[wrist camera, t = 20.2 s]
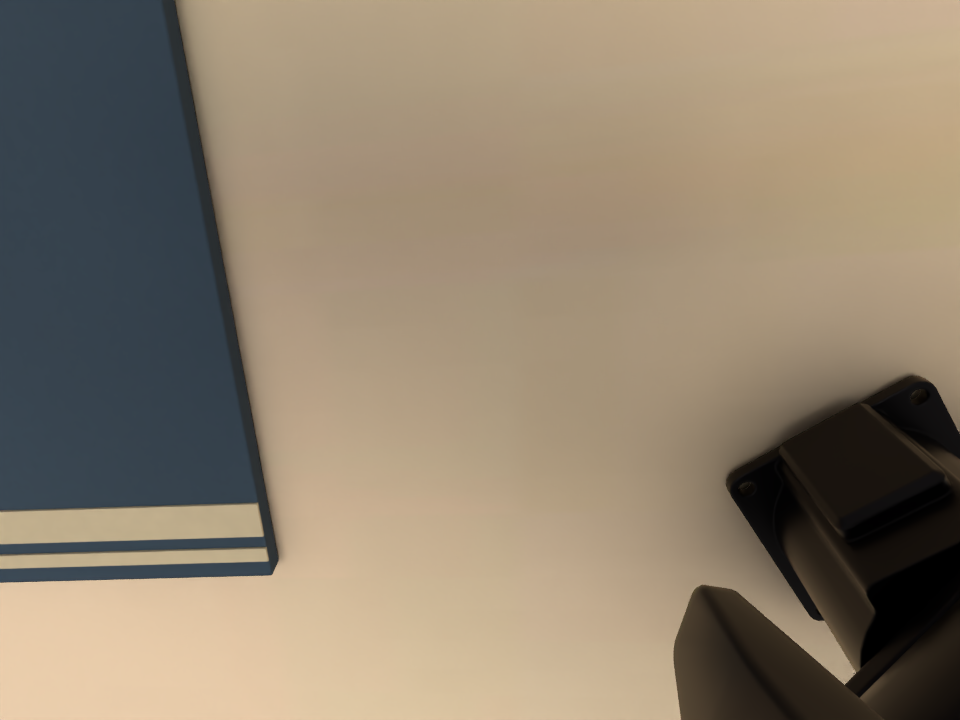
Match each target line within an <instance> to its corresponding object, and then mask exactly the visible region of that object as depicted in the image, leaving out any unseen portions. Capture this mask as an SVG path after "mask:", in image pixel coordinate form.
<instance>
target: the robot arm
mask: <svg viewBox="0 0 960 720" xmlns="http://www.w3.org/2000/svg"><path fill="white" fill-rule="evenodd" d="M919 389H921V392H920V394H919V396H917V397H916V398H914V399H910V397H911V395H912V393H913V392H915V391H916V390H919ZM745 482H750V485H749V486H748V487H747V488H746V489H738V488H739V486H740V485H741V484H742V483H745ZM726 486H727V489H728V491H729V493H730V495H731V497H732V498H733V500H734V501H735V503H736V504H737V506H738V507H739V509H740V510H741V512H742V513H743V515H744V516H745V518H746V519H747V521H748V522H749V524H750V526H751V527H752V529H753V530H754V532H755V533H756V535H757V536H758V538H759V539H760V541H761V542H762V544H763V545H764V547H765V548H766V550H767V551H768V553H769V554H770V556H771V558H772V559H773V561H774V562H775V564H776V565H777V567H778V568H779V570H780V571H781V573H782V574H783V576H784V577H785V579H786V580H787V582H788V583H789V585H790V586H791V588H792V589H793V591H794V593H795V594H796V596H797V597H798V599H799V600H800V602H801V603H802V605H803V606H804V608H805V609H806V611H807V612H808V614H809V615H810V616H811V617H812V618H813V619H815V620H818V621H825V622H826V623H827V625H828V627H829V628H830V630H831V632H832V633H833V635H834V637H835V638H836V640H837V642H838V643H839V645H840V647H841V648H842V650H843V652H844V653H845V655H846V657H847V658H848V660H849V661H850V663H851V665H852V666H853V668H854V670H855V671H856V674H855V675H854V676H853V677H852V678H851V679H850V680H849V681H848V682H847V683H846V684H845V685H844V684H843V683H842V682H840V681H839V680H838V679H837V678H836V677H835V676H833V675H832V674H831V673H830V672H829V671H828V670H827V669H825V668H824V667H823V666H822V665H821V664H820V663H818V662H817V661H816V660H815V659H814V658H813V657H812V656H810V655H809V654H808V653H807V652H806V651H805V650H803V649H802V648H801V647H800V646H799V645H798V644H797V643H795V642H794V641H793V640H792V639H791V638H790V637H788V636H787V635H786V634H785V633H784V632H783V631H782V630H780V629H779V628H778V627H777V626H776V625H775V624H773V623H772V622H771V621H770V620H769V619H768V618H767V617H765V616H764V615H763V614H762V613H761V612H760V611H758V610H757V609H756V608H755V607H754V606H753V605H752V604H750V603H749V602H748V601H747V600H746V599H745V598H743V597H742V596H741V595H740V594H739V593H737V592H736V591H734V590H732V589H727V588H721V587H715V586H708V585H701V586H699V587H697V588H696V589H695V590H694V592H693V593H692V595H691V598H690V601H689V604H688V606H687V609H686V612H685V615H684V617H683V620H682V623H681V626H680V628H679V631H678V634H677V637H676V640H675V645H674V668H675V676H676V683H677V691H678V699H679V707H680V714H681V720H960V434H959V432H958V430H957V428H956V426H955V424H954V422H953V420H952V418H951V416H950V414H949V412H948V410H947V408H946V406H945V404H944V403H943V401H942V399H941V397H940V395H939V393H938V391H937V389H936V387H935V386H934V385H933V384H932V383H930V382H929V381H928V380H926V379H925V378H922V377H920V376H911V377H908V378H905V379H903V380H902V381H900V382H898V383H896V384H894V385H892V386H891V387H889V388H887V389H885V390H883V391H881V392H879V393H878V394H876V395H874V396H872V397H870V398H868V399H867V400H865V401H863V402H861V403H857V404H854V405H852V406H850V407H849V408H847V409H845V410H843V411H841V412H839V413H838V414H836V415H834V416H832V417H830V418H828V419H826V420H825V421H823V422H821V423H819V424H817V425H815V426H814V427H812V428H810V429H808V430H806V431H804V432H802V433H801V434H799V435H797V436H795V437H793V438H791V439H790V440H788V441H786V442H784V443H783V444H782V446H780V447H778V448H776V449H774V450H772V451H770V452H769V453H767V454H765V455H763V456H761V457H759V458H758V459H756V460H754V461H752V462H750V463H748V464H746V465H745V466H743V467H741V468H739V469H737V470H735V471H734V472H733V473H731V474H730V475H729V477H728V479H727V482H726Z"/></svg>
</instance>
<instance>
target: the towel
mask: <svg viewBox="0 0 960 720" xmlns="http://www.w3.org/2000/svg"><path fill="white" fill-rule="evenodd" d="M277 563H278V555H277V550H276V545H275V539H274V534H273V528H272V523H271V518H270V512H269V507H268V502H267V496H266V491H265V486H264V480H263V475H262V469H261V464H260V459H259V453H258V448H257V443H256V437H255V432H254V426H253V421H252V416H251V410H250V405H249V400H248V394H247V389H246V384H245V378H244V373H243V367H242V362H241V357H240V351H239V346H238V341H237V335H236V330H235V324H234V319H233V314H232V308H231V303H230V298H229V292H228V287H227V281H226V276H225V271H224V265H223V260H222V255H221V249H220V244H219V239H218V233H217V228H216V222H215V217H214V212H213V206H212V201H211V196H210V190H209V185H208V179H207V174H206V169H205V163H204V158H203V153H202V147H201V142H200V137H199V131H198V126H197V120H196V115H195V110H194V104H193V99H192V94H191V88H190V83H189V77H188V72H187V67H186V61H185V56H184V51H183V45H182V40H181V35H180V29H179V24H178V18H177V13H176V8H175V2H174V0H0V583H2V582H39V581H76V580H114V579H151V578H188V577H226V576H263V575H272V574H273V571H274V569H275V567H276V565H277Z"/></svg>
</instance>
